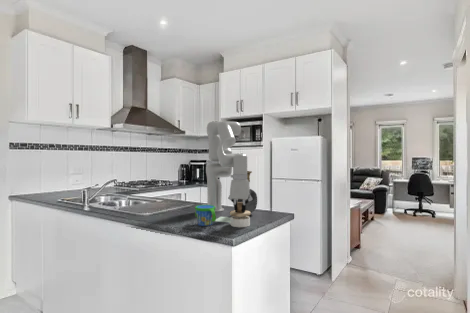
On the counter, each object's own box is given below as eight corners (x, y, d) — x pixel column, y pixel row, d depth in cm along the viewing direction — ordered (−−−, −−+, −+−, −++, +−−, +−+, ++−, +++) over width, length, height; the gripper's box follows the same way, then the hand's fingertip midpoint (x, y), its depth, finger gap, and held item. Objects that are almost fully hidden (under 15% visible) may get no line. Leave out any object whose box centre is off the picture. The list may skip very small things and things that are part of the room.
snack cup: (221, 226, 153) (221, 207, 153) (204, 230, 147) (204, 209, 147) (206, 221, 166) (206, 203, 166) (189, 223, 159) (189, 205, 159)
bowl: (228, 227, 152) (228, 218, 152) (234, 222, 162) (234, 214, 161) (246, 228, 149) (246, 220, 149) (251, 224, 158) (251, 216, 158)
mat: (212, 222, 163) (212, 221, 163) (220, 217, 175) (220, 216, 175) (233, 223, 160) (233, 222, 160) (239, 219, 171) (239, 218, 171)
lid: (226, 215, 152) (226, 203, 152) (233, 211, 162) (233, 200, 162) (247, 217, 148) (247, 204, 148) (252, 212, 159) (252, 201, 158)
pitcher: (259, 214, 183) (259, 166, 183) (242, 220, 168) (242, 168, 167) (244, 212, 190) (245, 166, 189) (227, 218, 174) (227, 167, 174)
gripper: (223, 177, 154) (223, 212, 154) (253, 178, 149) (253, 214, 149) (228, 176, 161) (228, 209, 161) (257, 177, 156) (257, 211, 156)
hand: (240, 211), depth 155 cm, fingers closed on lid, 3 cm apart
